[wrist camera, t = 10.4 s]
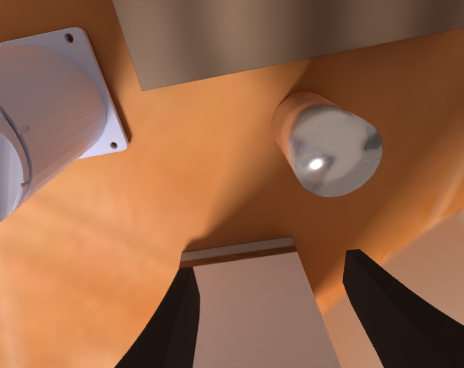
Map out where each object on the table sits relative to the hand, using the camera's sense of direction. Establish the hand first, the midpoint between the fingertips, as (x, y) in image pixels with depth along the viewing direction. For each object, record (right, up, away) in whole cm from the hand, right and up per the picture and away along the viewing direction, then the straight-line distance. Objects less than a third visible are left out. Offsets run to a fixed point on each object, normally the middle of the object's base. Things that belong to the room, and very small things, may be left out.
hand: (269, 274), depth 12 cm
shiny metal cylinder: (+3, +9, +7) cm, 12 cm away
